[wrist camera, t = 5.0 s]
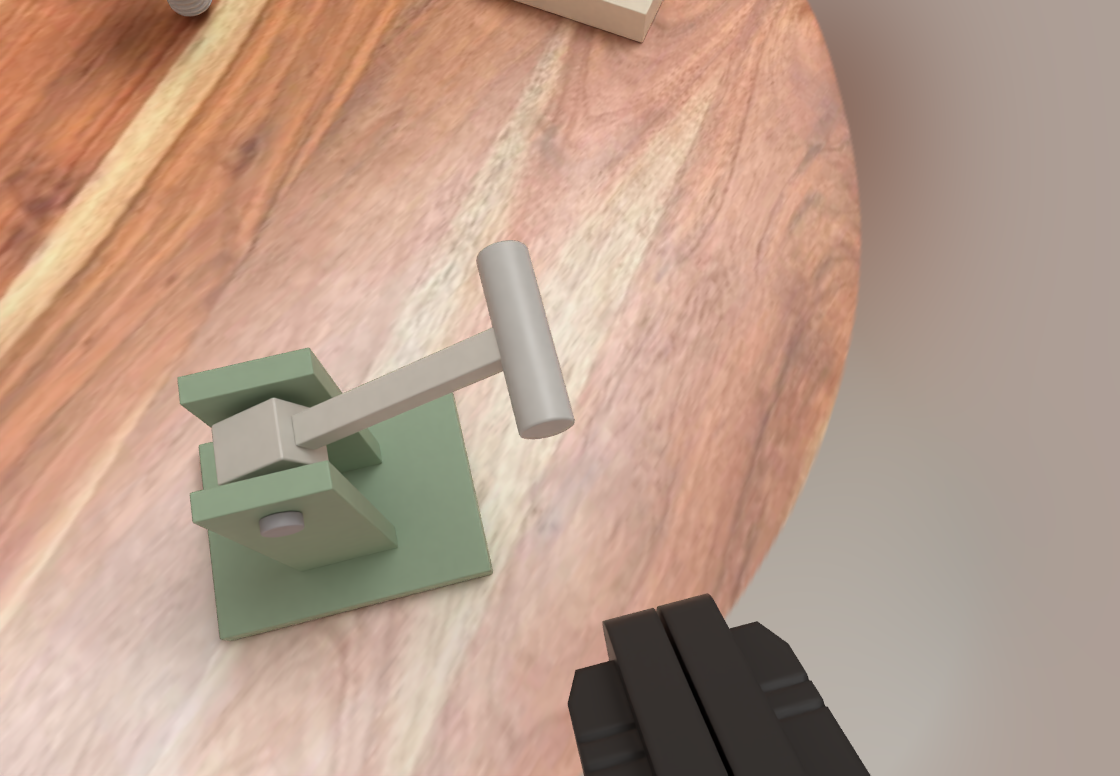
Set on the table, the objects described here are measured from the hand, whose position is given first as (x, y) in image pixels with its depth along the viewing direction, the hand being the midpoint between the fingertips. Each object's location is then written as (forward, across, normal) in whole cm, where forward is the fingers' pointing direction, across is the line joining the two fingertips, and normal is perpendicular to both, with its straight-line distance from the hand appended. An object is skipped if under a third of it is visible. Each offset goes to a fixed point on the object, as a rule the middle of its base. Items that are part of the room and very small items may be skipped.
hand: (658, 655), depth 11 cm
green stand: (+26, +9, +12) cm, 30 cm away
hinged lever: (+17, +4, +3) cm, 18 cm away
